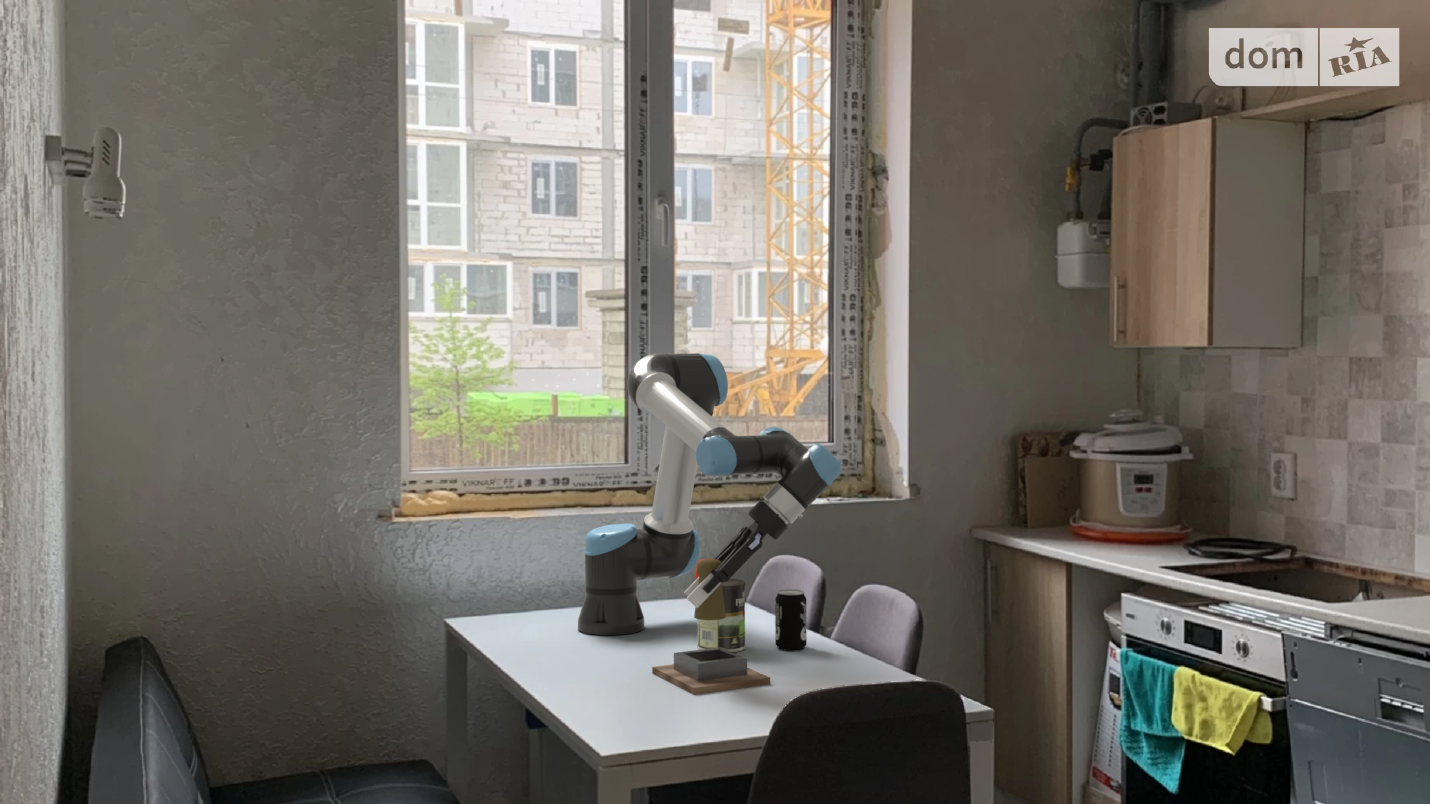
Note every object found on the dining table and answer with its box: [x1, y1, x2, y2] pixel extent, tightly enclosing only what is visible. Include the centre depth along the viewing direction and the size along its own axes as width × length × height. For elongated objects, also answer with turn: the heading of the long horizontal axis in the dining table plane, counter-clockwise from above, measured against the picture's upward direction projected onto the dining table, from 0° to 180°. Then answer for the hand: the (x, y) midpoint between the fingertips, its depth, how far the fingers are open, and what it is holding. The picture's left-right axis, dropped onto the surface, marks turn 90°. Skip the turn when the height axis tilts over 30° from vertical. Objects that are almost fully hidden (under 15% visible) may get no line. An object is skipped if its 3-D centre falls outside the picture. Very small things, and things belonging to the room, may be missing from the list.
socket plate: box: [651, 647, 771, 695], centre depth 232 cm, size 18×16×4 cm
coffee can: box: [696, 578, 746, 653], centre depth 258 cm, size 10×10×14 cm
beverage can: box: [774, 588, 808, 652], centre depth 258 cm, size 7×7×12 cm
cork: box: [693, 558, 726, 620], centre depth 232 cm, size 6×6×11 cm
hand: (690, 600), depth 231 cm, fingers closed on cork, 5 cm apart
